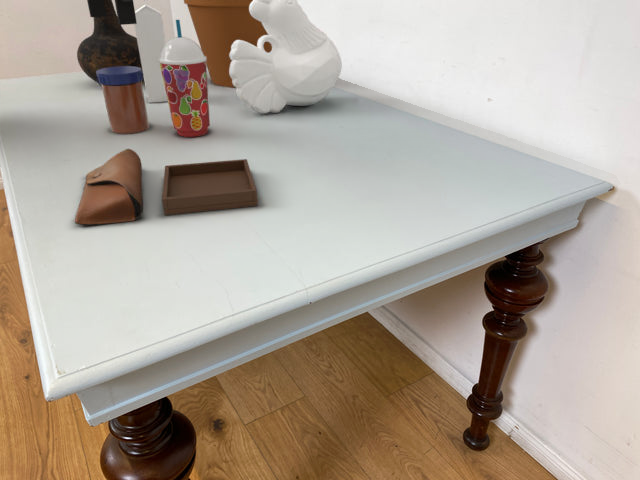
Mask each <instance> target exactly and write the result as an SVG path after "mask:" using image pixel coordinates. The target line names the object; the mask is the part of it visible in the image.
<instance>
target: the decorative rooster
mask: <svg viewBox="0 0 640 480" xmlns="http://www.w3.org/2000/svg"><path fill="white" fill-rule="evenodd" d="M249 12H250V14H251V16H252V17H253V18H255V19H256V20H258V21H260V22H261V23H262V25H263V27H264V28H265V30H266V32H267V33H268V35H263V36H262V37H260V38H259V40H258V42H257V47H256V46H254V45H252V44H250V43H248V42H245V41H242V40H236V41H234V43H233V44H232V46H231V52H230V54H229V56H230V59H231V60H232V62H231V64H230V68H229V75H230V77H231V78H232V83H233V85H234V86H235V87H234V88H236V89H235V95H236V96H237V99H238V100H239V101H241V102H242V103H243V105H245V106H246V107H250V108H251V109H252V110H254V111H255V112H257V113H259V114H261V115H265V114H268V113H271V114H273V113H274V114H276V113H280V112H281V111H282V110H283V109H284V108H285V107H286V106H293V107H294V106H296V107H306V106H311V105H313V104H316V103H318V102H320V101H321V100H323V99H324V98H325V97H326V96H327V95H328V94H329V92H330V91H331V90H332V89H333V88H334V85H336V83H337V81H338V80H339V77H340V75H341V72H342V68H343V62H342V58H341V55H340V53H339V50H338V48H337V46H336V45H335V43H334V41H332V40H331V38H330V37H328V35H327V34H326V33H325V32H324V31H322V30H321V29H320V28H319V27H317V26H316V25H315V24H313V22H311V20H310V19H309V17H308V15H307V13H306V12H305V11H304V10H303V7H302V6H301V5H300V4H299V3H298V0H253V1H252V2H251V4H250V6H249ZM264 42H269V43H270V44H271V45H272V50H271V52H269V53H267V52H266V51H265V50H264V47H263V45H264Z"/></svg>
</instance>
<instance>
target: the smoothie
mask: <svg viewBox="0 0 640 480" xmlns="http://www.w3.org/2000/svg"><path fill="white" fill-rule="evenodd" d="M175 25H176V33H177V36H175V37H172V38H170V39H169V40H168V41H166V44H165V45H164V47H163V49H162V52H161V56H160V58H159V62H160V67H161V72H162V76H163V81H164V86H165V90H166V95H167V99H168V101H167V103H168V108H169V113H170V118H171V122H172V126H173V129H174V130H176V133H177V135H178V136H181V137H185V138H195V137H196V138H197V137H201V136H204V135H206V134H207V133H208V131H209V127H210V126H211V124H210V103H209V86H208V68H207V64H206V56H204V54H203V52H202V50H201V46H200V44H198V43H197V42H195V41H194V40H193V39H191V38H189V37H186V36H182V28H181V27H182V26H181V20H180V19H175Z"/></svg>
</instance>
